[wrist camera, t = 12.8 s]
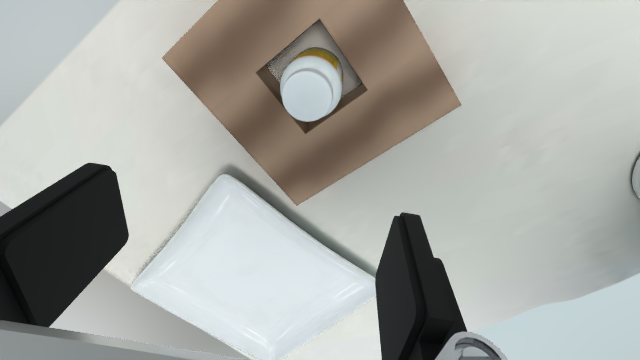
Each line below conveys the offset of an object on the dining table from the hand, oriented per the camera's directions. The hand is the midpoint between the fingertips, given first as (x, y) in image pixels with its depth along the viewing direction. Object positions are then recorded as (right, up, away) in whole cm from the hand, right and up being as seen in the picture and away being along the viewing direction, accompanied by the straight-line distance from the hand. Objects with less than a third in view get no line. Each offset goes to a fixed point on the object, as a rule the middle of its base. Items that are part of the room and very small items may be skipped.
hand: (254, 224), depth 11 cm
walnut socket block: (+2, +13, +22) cm, 26 cm away
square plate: (-7, -12, +38) cm, 41 cm away
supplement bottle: (+2, +13, +23) cm, 26 cm away
